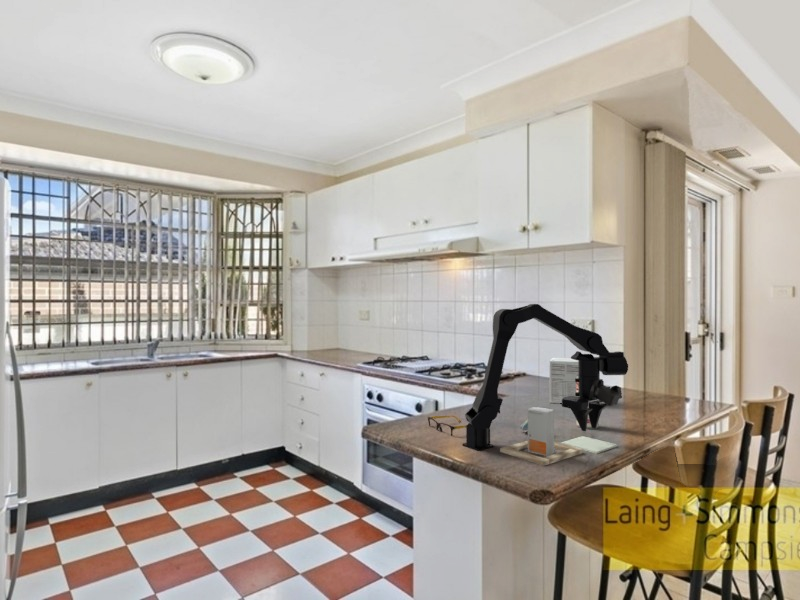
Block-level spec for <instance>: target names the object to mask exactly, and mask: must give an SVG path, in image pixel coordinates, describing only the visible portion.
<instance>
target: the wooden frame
mask: <svg viewBox="0 0 800 600" xmlns="http://www.w3.org/2000/svg"><path fill="white" fill-rule="evenodd" d="M523 449H528V440H525V441H521V442H518V443H514V444H511V445H507V446H506V445H505V446H503V447H500V448H499V452H500V453H502V454H506V455H509V456H511V457H515V458H519V459H521V460H525V461H528V462H531V463H534V464H536V465H540V466H547V465H551V464H553V463H557V462H559V461H563V460H565V459H569V458H571V457H572V458H573V457H576V456H578V455H582V454H583V450H582V449H581V448H577V447H573V446H569V445H566V444H562V443H561V442H558V441H555V440H554V450H560V451H559V452H557V453H554V454H551V455H549V456H543V457H542V456H541V457H540V456H537V455H534V454H533V453H529V452H524V451H521V450H523Z"/></svg>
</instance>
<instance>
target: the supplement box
mask: <svg viewBox="0 0 800 600" xmlns="http://www.w3.org/2000/svg"><path fill="white" fill-rule="evenodd" d="M577 375H578V360H574V359H571V357H551V359H550V360H549V403H550V404H560V403H562V399H563V398H564V397H567V396H575V393H576V382H575V378H577Z"/></svg>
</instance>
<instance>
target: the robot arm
mask: <svg viewBox="0 0 800 600" xmlns="http://www.w3.org/2000/svg"><path fill="white" fill-rule="evenodd" d="M532 319H533V320H535V321H537V322H539V323H540V324H543V325H544V326H546V327H548V328H549V329H551V330H552V331H554V332H556V333H558V334H560V335H561V336H564V337H565V338H566V339H568V341H569V342H570V343H571V345H573V346H574V347H576V348H577V349H578V350H579V351H575V352H574V354H572V355H571V357H570V358H571V359H574V360H578V378H575V382H578V392H576V393H575V396H567V397H564V398H563V399H562V404H561V407H563V408H567V409H570V410H571V411H572V413H573V415H574V417H575V420H576V422H577V421H578V423H579V425H580V427H579V428H580V429H581V431H582V432H587V429H586V428H587V420H588V415H589V419H590V423H591V426H592V428H596V426H597V423H598V420H600V417H601V415H602V411H603V410H604V409H606V408H608V407H612V406H614V405H617V404H618V403H619V401H620V399H623V396H622V394H623V393H622V387H620V386H619V385H618V384H617V385H613V386H611V387H610V386H606V385H605V381H604V380H603V379H601V378H600V373H601V374H602V375H603V376H625V375H627V373H628V371H629V364H628V360H627V358H626V356H625V352H624V351H609V350H608V349H607V347H606V346H605V344H604V343H603V342H604V341H603V338H602V335H600V334H599V333H597V332H594V331H592V330H588V329H585V328H582V327H579V326H576V325H575V324H572V323H570V322H569V321H567V320H565V319H563V318H561V317H560V316H558V315H556V314H555V313H553V312H551V311H550V310H548V309H547V308H544V307H543V306H541V304H539V303H528V304H527V305H524V306H521V307H516V308H500V309H498V310H496V312H494V314H493V317H492V334H493V335H492V336H493V338H492V339H493V340H492V344H491V347H490V352H489V357H488V362H487V365H486V368H485V369H486V370H485V373H484V377H483V383H482V386H481V387H480V389H479V391H478V392H477V394H476V396H475V398H474V400H473V402H472V403H473V404H472V407H471V408H470V409H469V410H468V411H467V412H466V413H465V414H464V417H465V420H466V422H468V423H467V424H465V425H466V429H465V431H466V432H465V433H466V434H465V435H466V437H465V438H466V442H463V443H462V447H466V448H469V449H472V450H474V449H475V451H483V450H486V449H491V448H494V446H495V445H494V444H492V443H491V425H492V423H493V421H494V420H495V419H497V416H498V414H499V415H500V414H501V407H502V405H503V398H502V397H501V396H499V393H498V389H499V385H500V381H501V377H502V373H503V368H504V364H505V361H506V355H507V350H508V346H509V344H510V341H511V339H512V338H513V336H514V334H515V333H516V330H517V328H518V326H519V324H521V323H525V322H528V321H530V320H532ZM582 352H587V353H582ZM594 355H596V356H594ZM576 396H578V397H576Z"/></svg>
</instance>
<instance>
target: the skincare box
mask: <svg viewBox="0 0 800 600" xmlns="http://www.w3.org/2000/svg"><path fill="white" fill-rule="evenodd" d="M527 420H528V430H527V441H528V448H527V453H530V454H536V455H540V456H543V457H547V456H550V455H553V454H555V448H554V441H555V410H554V409H551V408H545V407H537V406H533V407H529V408H528V409H527Z"/></svg>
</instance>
